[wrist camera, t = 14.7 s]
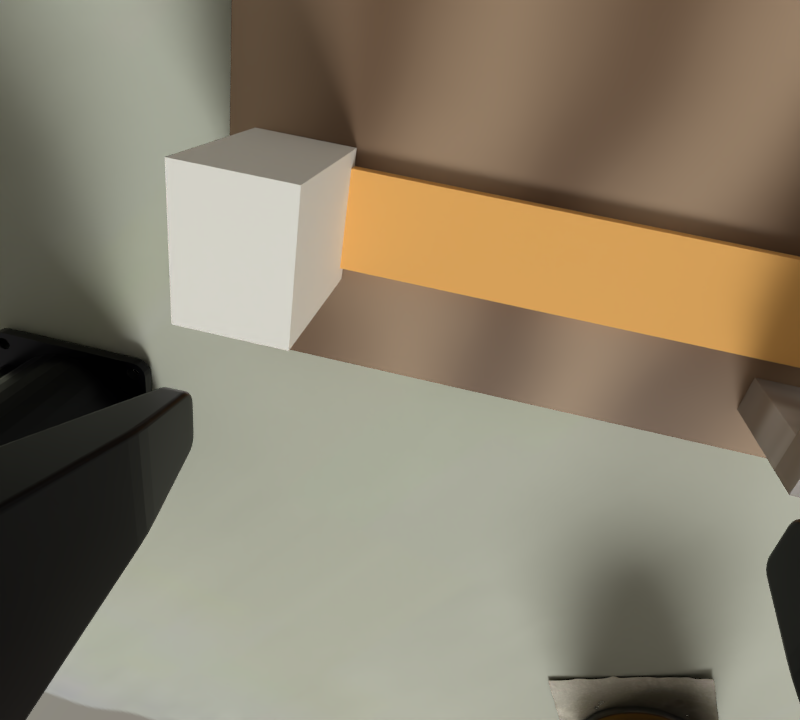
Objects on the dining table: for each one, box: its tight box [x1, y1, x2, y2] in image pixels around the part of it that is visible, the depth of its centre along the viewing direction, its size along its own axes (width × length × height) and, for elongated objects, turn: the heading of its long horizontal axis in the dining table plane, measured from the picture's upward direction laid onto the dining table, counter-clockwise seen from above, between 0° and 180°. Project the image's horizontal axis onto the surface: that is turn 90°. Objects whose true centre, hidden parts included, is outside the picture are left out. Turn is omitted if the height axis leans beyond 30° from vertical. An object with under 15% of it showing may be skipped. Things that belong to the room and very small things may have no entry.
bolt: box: [165, 128, 800, 368], centre depth 15 cm, size 18×4×5 cm, turn 81°
